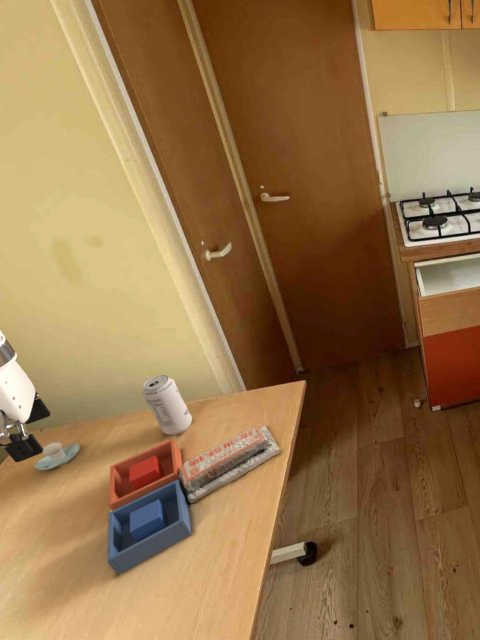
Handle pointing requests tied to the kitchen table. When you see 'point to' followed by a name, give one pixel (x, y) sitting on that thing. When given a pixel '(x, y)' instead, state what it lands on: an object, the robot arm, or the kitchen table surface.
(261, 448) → the packaged product
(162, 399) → the energy drink can
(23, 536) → the kitchen table surface
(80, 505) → the kitchen table surface
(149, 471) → the red block
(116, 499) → the terracotta bin
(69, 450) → the pacifier
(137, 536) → the blue block
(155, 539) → the blue bin
